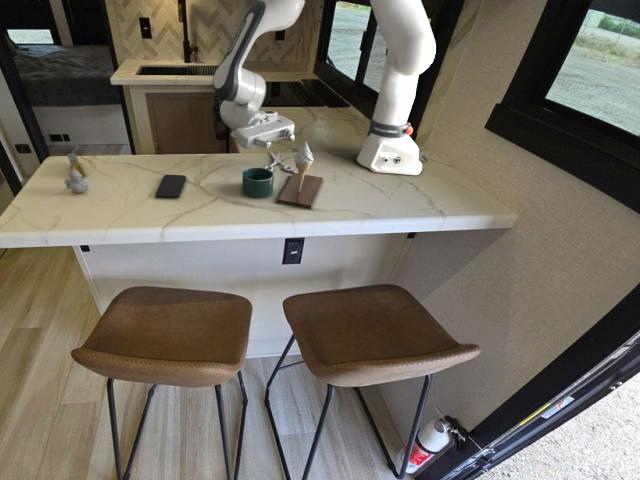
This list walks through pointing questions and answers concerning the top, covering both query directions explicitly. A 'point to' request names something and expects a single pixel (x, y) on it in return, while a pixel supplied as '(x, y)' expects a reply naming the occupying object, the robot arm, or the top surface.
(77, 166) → the medication box
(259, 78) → the robot arm
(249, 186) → the cup
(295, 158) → the ice cream cone
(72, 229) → the top surface
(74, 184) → the grey lumpy piece
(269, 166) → the scissors
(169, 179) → the phone
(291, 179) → the board
